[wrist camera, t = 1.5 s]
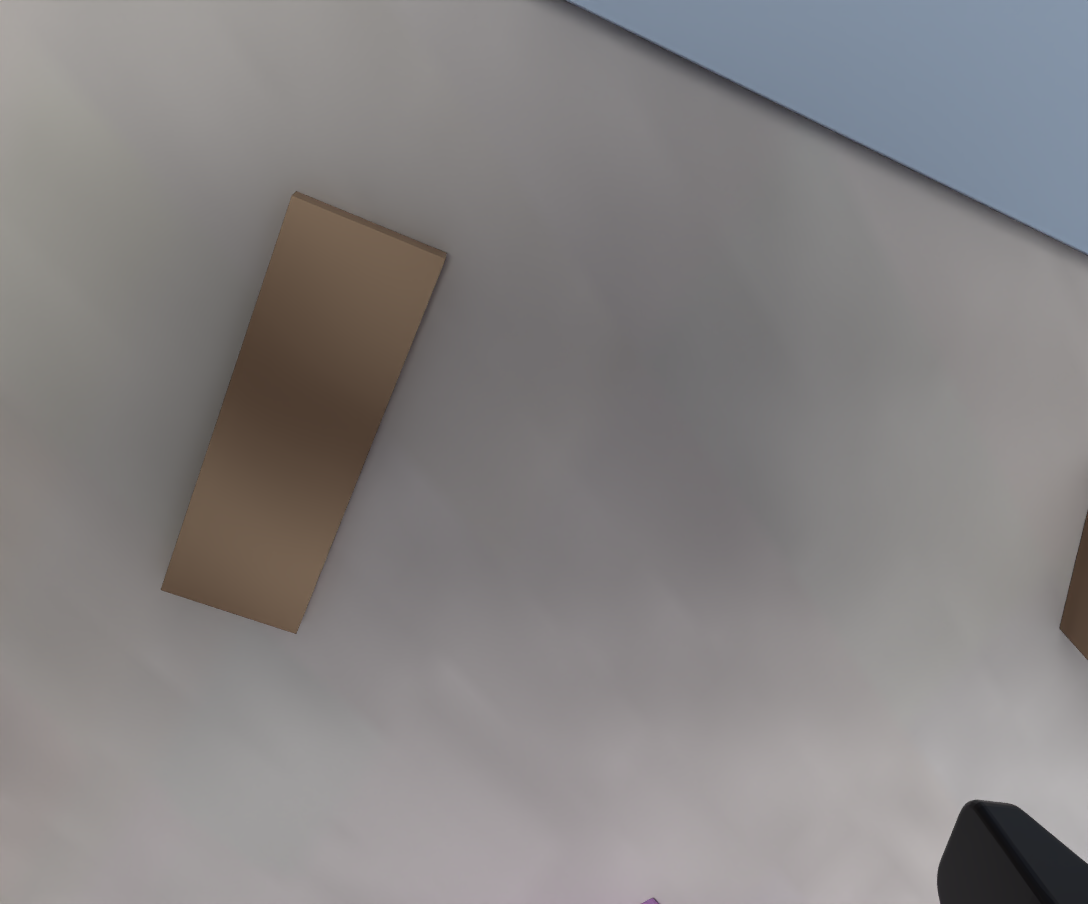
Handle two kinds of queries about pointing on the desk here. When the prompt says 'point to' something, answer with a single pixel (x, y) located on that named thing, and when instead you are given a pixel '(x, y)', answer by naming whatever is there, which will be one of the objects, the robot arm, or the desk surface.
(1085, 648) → the block
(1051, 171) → the board
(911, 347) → the desk surface
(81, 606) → the desk surface
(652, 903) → the toy chair
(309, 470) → the wing slat
